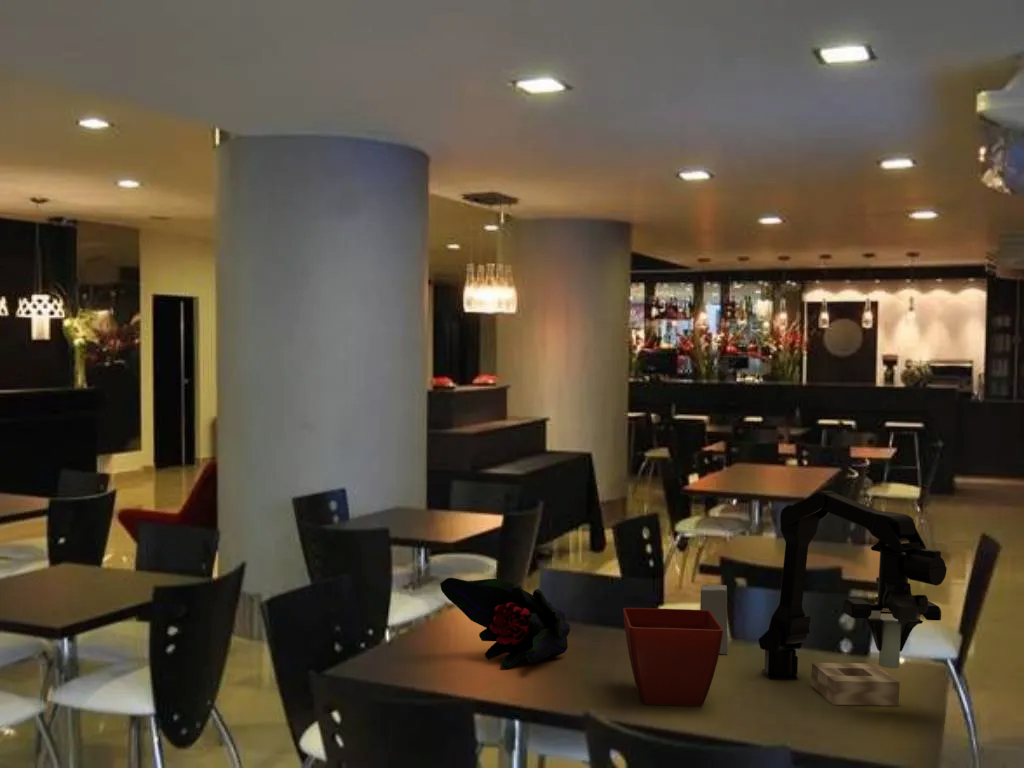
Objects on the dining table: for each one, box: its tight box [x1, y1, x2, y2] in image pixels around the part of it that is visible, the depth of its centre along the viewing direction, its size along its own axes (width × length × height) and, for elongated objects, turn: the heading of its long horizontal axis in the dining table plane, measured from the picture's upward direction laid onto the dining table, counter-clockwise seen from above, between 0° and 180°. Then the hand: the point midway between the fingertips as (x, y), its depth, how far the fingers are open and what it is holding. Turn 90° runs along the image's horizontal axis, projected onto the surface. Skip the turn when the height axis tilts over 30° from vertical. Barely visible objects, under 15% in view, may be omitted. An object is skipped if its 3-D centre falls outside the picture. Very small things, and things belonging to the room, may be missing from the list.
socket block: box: [810, 662, 901, 707], centre depth 237 cm, size 14×14×5 cm
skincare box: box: [699, 584, 729, 655], centre depth 271 cm, size 8×7×16 cm
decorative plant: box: [439, 577, 571, 670], centre depth 254 cm, size 21×26×30 cm
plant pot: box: [622, 607, 723, 707], centre depth 231 cm, size 19×19×17 cm
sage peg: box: [878, 619, 901, 669], centre depth 226 cm, size 4×4×9 cm
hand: (889, 650), depth 226 cm, fingers closed on sage peg, 4 cm apart
